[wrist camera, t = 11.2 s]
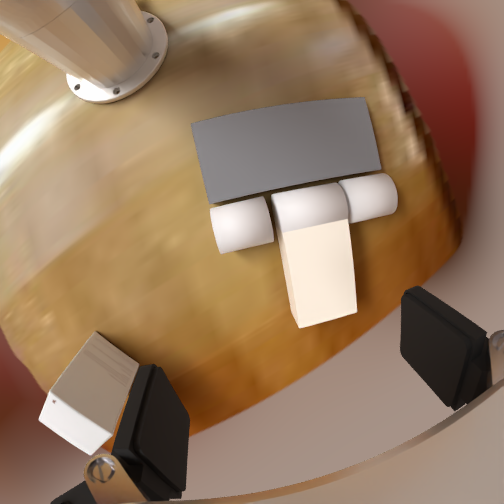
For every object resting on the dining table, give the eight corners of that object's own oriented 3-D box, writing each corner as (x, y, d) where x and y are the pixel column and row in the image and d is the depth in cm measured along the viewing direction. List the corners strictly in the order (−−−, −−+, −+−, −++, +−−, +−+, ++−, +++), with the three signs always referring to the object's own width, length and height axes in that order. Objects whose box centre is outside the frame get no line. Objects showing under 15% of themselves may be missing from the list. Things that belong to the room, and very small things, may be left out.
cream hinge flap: (268, 193, 28) (275, 195, 24) (327, 182, 28) (343, 182, 24) (291, 311, 31) (300, 330, 27) (343, 298, 32) (358, 313, 27)
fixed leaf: (193, 127, 26) (187, 117, 22) (356, 101, 26) (374, 91, 22) (222, 248, 29) (220, 259, 25) (379, 211, 29) (400, 216, 25)
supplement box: (76, 361, 31) (35, 418, 19) (95, 329, 30) (48, 389, 18) (118, 392, 33) (90, 457, 20) (142, 364, 32) (113, 436, 19)
